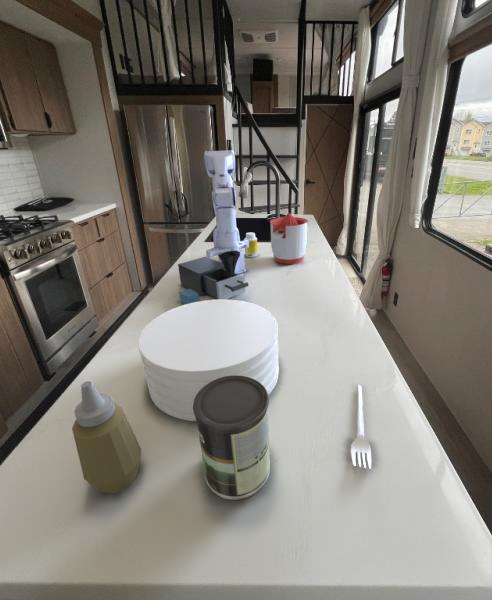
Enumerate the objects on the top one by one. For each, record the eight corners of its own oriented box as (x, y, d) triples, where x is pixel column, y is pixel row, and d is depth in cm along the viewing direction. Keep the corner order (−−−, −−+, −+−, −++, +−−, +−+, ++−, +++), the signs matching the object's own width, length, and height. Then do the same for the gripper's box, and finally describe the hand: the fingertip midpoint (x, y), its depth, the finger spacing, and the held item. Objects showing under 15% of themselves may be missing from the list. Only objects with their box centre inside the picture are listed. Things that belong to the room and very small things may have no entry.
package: (191, 297, 107) (189, 288, 106) (199, 302, 104) (198, 292, 103) (180, 301, 105) (178, 292, 104) (188, 306, 102) (186, 296, 100)
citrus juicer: (261, 263, 137) (259, 215, 128) (283, 252, 150) (283, 208, 141) (292, 270, 129) (293, 219, 120) (313, 258, 142) (315, 211, 133)
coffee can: (201, 504, 46) (187, 432, 39) (208, 443, 55) (197, 377, 49) (274, 497, 46) (271, 425, 40) (268, 438, 55) (265, 372, 49)
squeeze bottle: (156, 461, 52) (133, 371, 44) (120, 509, 45) (84, 413, 37) (116, 448, 54) (87, 360, 47) (76, 492, 48) (34, 398, 40)
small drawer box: (229, 286, 116) (227, 264, 112) (201, 296, 109) (198, 273, 105) (208, 276, 125) (205, 256, 121) (181, 285, 118) (177, 264, 114)
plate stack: (184, 334, 87) (178, 295, 82) (287, 344, 81) (287, 303, 76) (120, 410, 62) (106, 361, 57) (262, 432, 57) (259, 380, 52)
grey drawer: (254, 296, 105) (253, 278, 103) (228, 306, 99) (227, 287, 96) (223, 282, 117) (221, 265, 114) (198, 290, 110) (196, 273, 108)
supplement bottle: (260, 255, 146) (259, 233, 142) (250, 258, 143) (248, 235, 139) (252, 253, 150) (251, 231, 146) (243, 255, 147) (241, 233, 143)
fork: (367, 389, 66) (368, 381, 65) (372, 478, 49) (373, 469, 48) (351, 386, 67) (352, 379, 66) (350, 474, 49) (351, 465, 48)
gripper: (214, 238, 87) (219, 284, 93) (254, 228, 96) (256, 271, 102) (199, 234, 92) (205, 278, 98) (239, 225, 101) (242, 266, 107)
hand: (230, 274), depth 100 cm, fingers closed
